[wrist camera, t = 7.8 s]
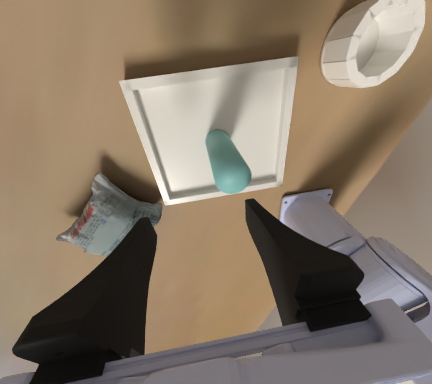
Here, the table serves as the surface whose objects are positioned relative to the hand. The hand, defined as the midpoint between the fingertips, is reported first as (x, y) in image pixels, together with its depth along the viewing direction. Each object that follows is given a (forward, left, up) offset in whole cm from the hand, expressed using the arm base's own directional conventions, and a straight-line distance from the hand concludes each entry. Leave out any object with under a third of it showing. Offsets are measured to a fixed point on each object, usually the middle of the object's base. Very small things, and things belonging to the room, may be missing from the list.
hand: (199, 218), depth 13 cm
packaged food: (-6, +12, -11) cm, 17 cm away
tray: (+2, -3, -10) cm, 11 cm away
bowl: (+9, -17, -10) cm, 22 cm away
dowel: (+2, -3, -10) cm, 10 cm away
